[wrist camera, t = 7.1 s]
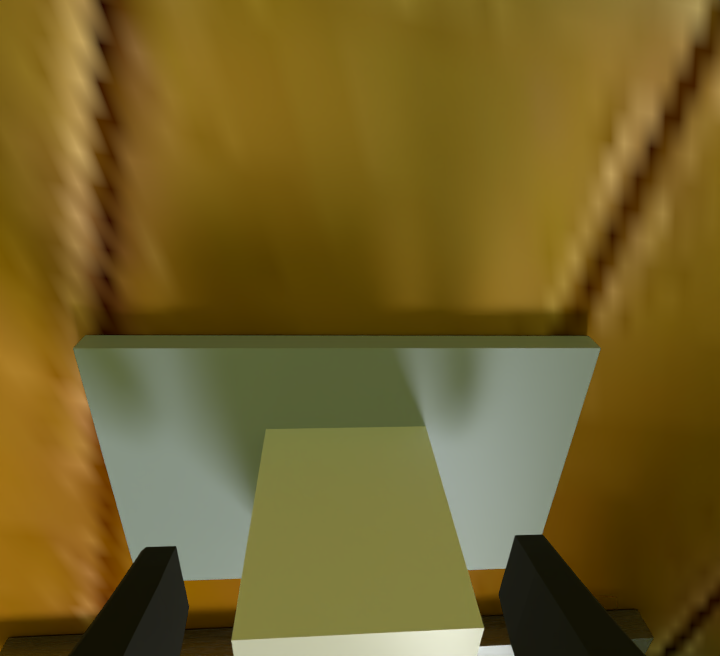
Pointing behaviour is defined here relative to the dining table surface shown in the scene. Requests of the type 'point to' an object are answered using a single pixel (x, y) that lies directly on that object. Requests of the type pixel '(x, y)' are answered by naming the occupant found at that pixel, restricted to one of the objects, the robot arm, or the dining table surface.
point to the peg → (353, 550)
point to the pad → (328, 426)
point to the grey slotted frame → (214, 647)
